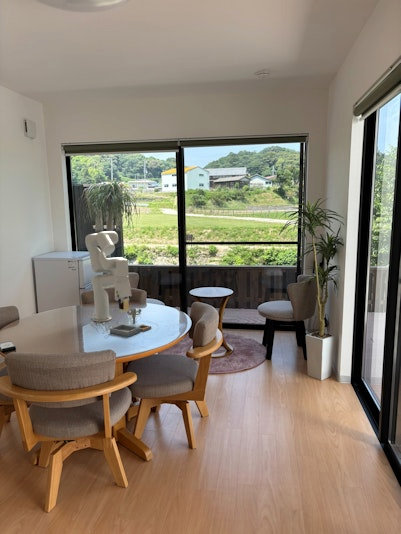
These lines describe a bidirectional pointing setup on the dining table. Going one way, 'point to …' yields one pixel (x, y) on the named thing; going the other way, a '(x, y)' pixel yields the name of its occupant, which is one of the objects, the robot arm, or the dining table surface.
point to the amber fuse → (125, 305)
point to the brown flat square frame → (144, 327)
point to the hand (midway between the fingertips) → (124, 307)
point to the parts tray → (125, 330)
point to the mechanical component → (133, 313)
